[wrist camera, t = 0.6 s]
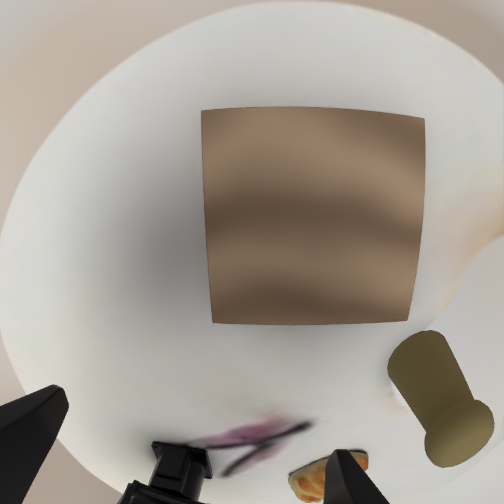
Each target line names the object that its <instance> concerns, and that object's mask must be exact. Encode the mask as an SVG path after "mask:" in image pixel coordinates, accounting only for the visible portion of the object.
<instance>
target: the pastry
mask: <svg viewBox="0 0 504 504" xmlns="http://www.w3.org/2000/svg"><path fill="white" fill-rule="evenodd" d="M350 453H351V454H352V456H353V457H354V458H355V460H356V461H357V462H358V464H359V465H360V466H361V468H362V469H363V470H364V471H366V470H367V469H368V455H366V454H364V453H360V452H350ZM329 458H330V457H329ZM329 458H324V459H320V460H318V461H317V462H315V463H312V464H310V465H308V466H305V467H303V468H301V469H299V470H297V471H295V472H294V473H292V474H291V476H289V478H288V482H289V484H290V486H291V489H292V490H293V491H294V492H295V494H296V496H297V498H299V499H300V500H302V501H304V502H306V503H311V502H320V501H321V500H322V499H324V486H325V467H326V463H327V461H328V460H329Z"/></svg>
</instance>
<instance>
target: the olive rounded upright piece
mask: <svg viewBox="0 0 504 504" xmlns="http://www.w3.org/2000/svg"><path fill="white" fill-rule="evenodd" d="M387 369H388V375H389V377H390V378H391V380H392V381H393V383H394V384H395V386H396V387H397V389H398V390H399V392H400V393H401V395H402V396H403V397H404V399H405V401H406V402H407V404H408V405H409V407H410V408H411V410H412V411H413V413H414V414H415V416H416V417H417V419H418V420H419V422H420V423H421V425H422V426H423V428H424V429H425V431H426V435H425V442H424V443H425V451H426V454H427V456H428V458H429V459H430V460H431V462H432V463H433V464H434V465H436V466H438V467H442V468H445V467H452V466H455V465H458V464H461V463H463V462H465V461H466V460H468V459H470V458H471V457H473V456H474V455H475V454H477V453H478V452H479V451H480V450H481V449H482V448H483V447H484V446H485V445H486V444H487V442H488V441H489V439H490V438H491V436H492V434H493V431H494V418H493V414H492V412H491V410H490V409H489V407H488V406H486V405H485V404H484V403H482V402H481V401H479V400H474V398H473V396H472V393H471V391H470V389H469V387H468V384H467V382H466V380H465V378H464V375H463V373H462V371H461V369H460V367H459V365H458V363H457V361H456V359H455V357H454V355H453V353H452V351H451V349H450V347H449V345H448V343H447V341H446V339H445V337H444V336H443V335H442V334H440V333H439V332H436V331H432V330H429V331H421V332H419V333H417V334H414V335H412V336H410V337H409V338H407V339H406V340H405V341H403V342H402V343H401V344H400V345H399V346H398V347H397V348H396V349H395V351H394V352H393V354H392V356H391V357H390V359H389V363H388V367H387Z"/></svg>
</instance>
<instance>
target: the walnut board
mask: <svg viewBox="0 0 504 504" xmlns="http://www.w3.org/2000/svg"><path fill="white" fill-rule="evenodd" d="M201 128H202V165H203V190H204V211H205V229H206V245H207V260H208V274H209V286H210V299H211V310H212V321H213V323H224V324H256V325H329V324H361V323H381V322H398V321H407V320H408V315H409V310H410V305H411V300H412V295H413V290H414V284H415V278H416V272H417V265H418V258H419V250H420V242H421V233H422V222H423V210H424V193H425V120H424V118H419V117H412V116H406V115H399V114H391V113H383V112H375V111H365V110H354V109H340V108H322V107H246V108H227V109H214V110H202V111H201Z"/></svg>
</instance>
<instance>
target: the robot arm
mask: <svg viewBox="0 0 504 504" xmlns="http://www.w3.org/2000/svg"><path fill="white" fill-rule="evenodd" d="M68 409H69V403H68V400H67V397H66V394H65V391H64V389H63V388H61V387H59V386H57V385H54V384H53V385H50V386H48V387H45V388H43V389H40V390H38V391H36V392H33V393H31V394H29V395H26V396H24V397H21V398H19V399H16V400H14V401H11V402H9V403H6V404H4V405H2V406H0V504H22V502H23V500H24V498H25V496H26V494H27V492H28V490H29V488H30V486H31V484H32V482H33V480H34V478H35V477H36V475H37V473H38V471H39V469H40V467H41V465H42V463H43V462H44V460H45V458H46V456H47V454H48V452H49V450H50V449H51V447H52V445H53V443H54V441H55V439H56V437H57V435H58V432H59V430H60V428H61V425H62V423H63V421H64V418H65V416H66V414H67V411H68ZM151 446H152V448H153V450H154V453H155V455H156V457H157V459H158V460H157V463H156V466H155V468H154V471H153V473H152V476H151V478H150V481H149V484H148V486H147V485H145V484H142V483H140V482H139V481H136V480H134V481H133V483H128V486H127V488H126V490H125V492H124V494H123V496H122V497H121V499H120V500H119V502H118V503H117V504H205V503H201V502H198V499H199V495H200V491H201V487H202V483H203V479H204V478H206V479H211V478H212V476H213V475H212V471H211V467H210V463H209V459H208V455H207V452H206V451H204V450H199V449H192V448H186V447H179V446H174V445H168V444H163V443H158V442H153V443H152V445H151ZM207 504H208V503H207ZM323 504H390V503H389V502H388V501H387V500H386V498H385V497H384V496H383V495H382V493H381V492H380V491H379V489H378V488H377V487H376V486H375V484H374V483H373V482H372V481H371V479H370V478H369V477H368V475H367V474H366V473H365V471H364V470H363V469H362V468H361V466H360V465H359V464H358V462H357V461H356V460H355V458H354V457H353V456H352V454H351V453H350V452H349V451H348V450H347V449H336V450H334V451H333V453H332V455H331V456H330V458H329V460H328V461H327V463H326V467H325V486H324V503H323Z"/></svg>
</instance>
